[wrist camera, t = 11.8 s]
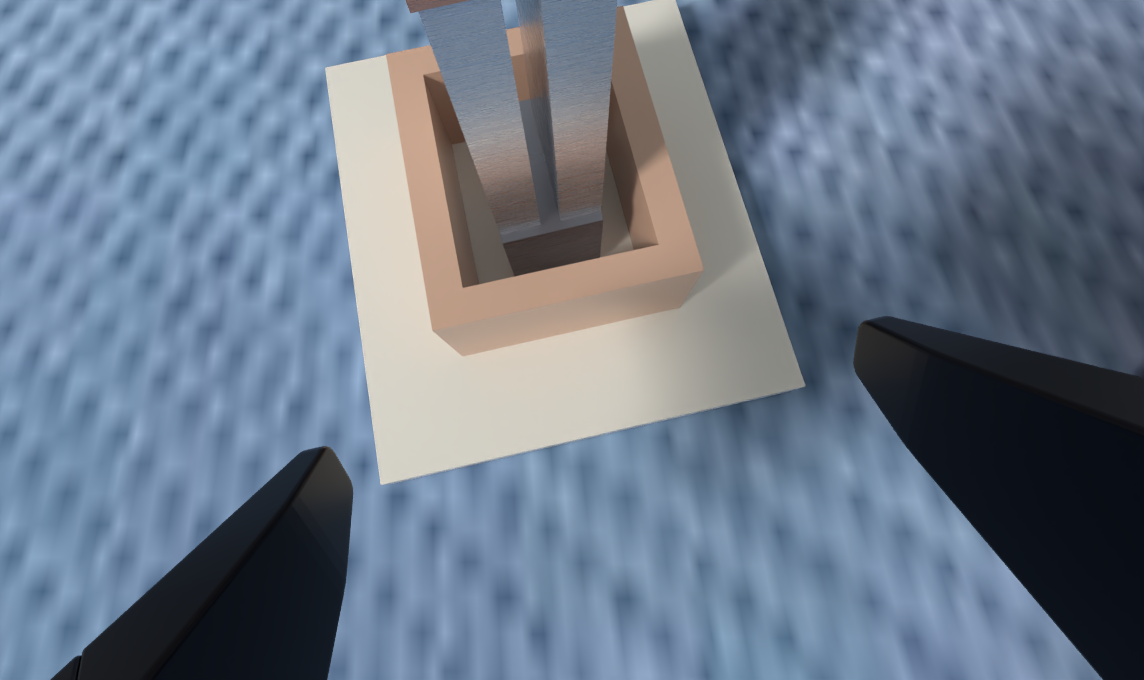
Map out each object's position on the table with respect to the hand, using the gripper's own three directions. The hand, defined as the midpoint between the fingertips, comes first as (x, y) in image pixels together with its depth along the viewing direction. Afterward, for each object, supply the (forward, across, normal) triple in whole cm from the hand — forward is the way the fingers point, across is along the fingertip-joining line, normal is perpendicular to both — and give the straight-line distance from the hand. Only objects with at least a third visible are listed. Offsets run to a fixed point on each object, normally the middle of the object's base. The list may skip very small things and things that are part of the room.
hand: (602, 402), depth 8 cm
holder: (+12, 0, +1) cm, 12 cm away
